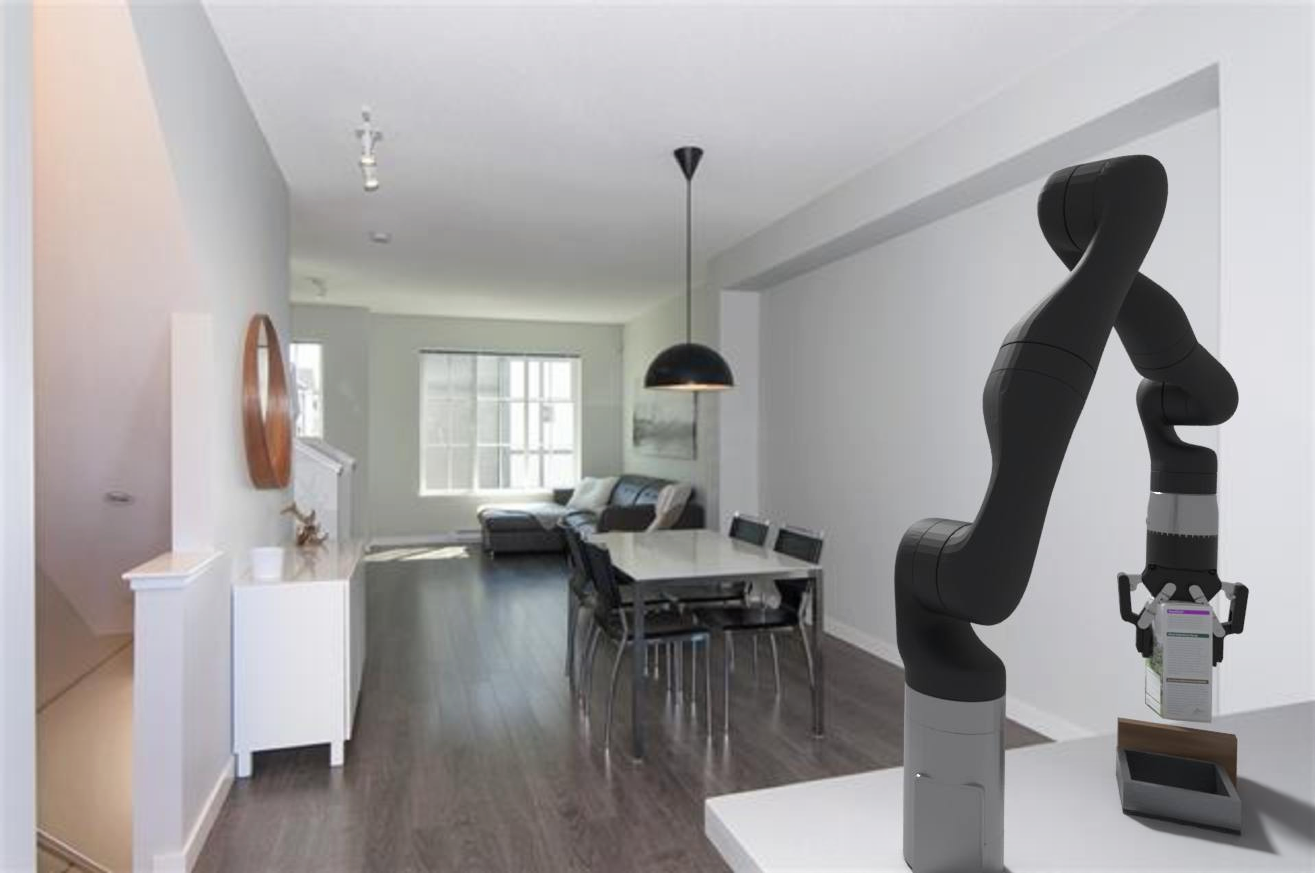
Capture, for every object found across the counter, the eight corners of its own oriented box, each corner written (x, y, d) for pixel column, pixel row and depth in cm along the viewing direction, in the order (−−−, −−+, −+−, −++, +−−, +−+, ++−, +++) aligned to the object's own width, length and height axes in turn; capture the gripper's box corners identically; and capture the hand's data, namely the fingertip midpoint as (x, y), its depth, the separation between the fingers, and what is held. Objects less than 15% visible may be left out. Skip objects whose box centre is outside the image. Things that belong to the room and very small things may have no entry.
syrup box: (1213, 724, 97) (1217, 605, 97) (1160, 719, 98) (1163, 602, 98) (1192, 707, 102) (1195, 595, 102) (1141, 703, 104) (1144, 592, 103)
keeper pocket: (1240, 835, 82) (1241, 802, 82) (1122, 812, 87) (1123, 781, 87) (1221, 792, 92) (1221, 762, 92) (1115, 774, 97) (1116, 745, 97)
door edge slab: (1236, 790, 93) (1237, 739, 92) (1117, 769, 98) (1118, 721, 98) (1233, 784, 94) (1234, 734, 94) (1116, 764, 99) (1117, 717, 99)
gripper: (1118, 527, 100) (1114, 660, 100) (1259, 536, 93) (1255, 678, 93) (1113, 521, 106) (1110, 645, 107) (1245, 529, 100) (1241, 661, 100)
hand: (1178, 660), depth 100 cm, fingers closed on syrup box, 6 cm apart
